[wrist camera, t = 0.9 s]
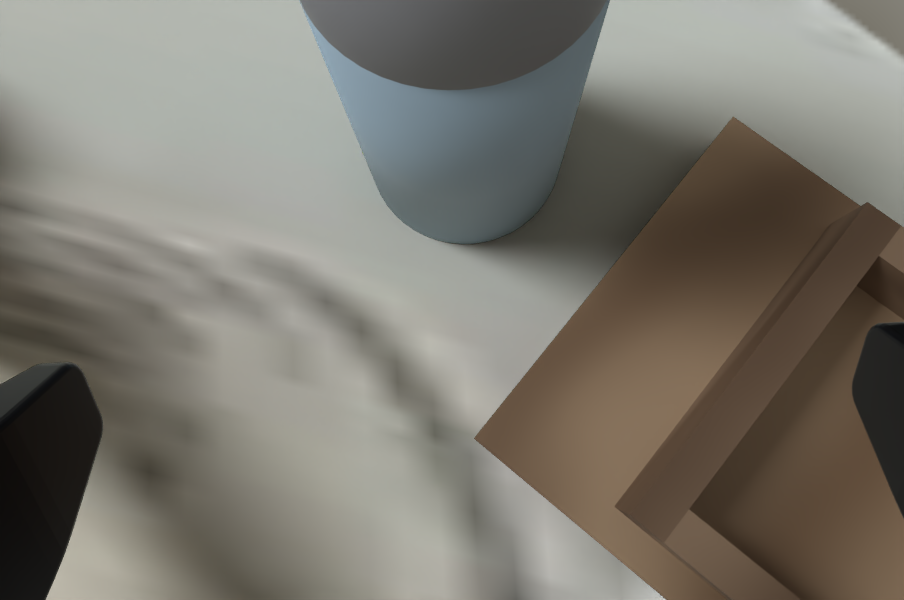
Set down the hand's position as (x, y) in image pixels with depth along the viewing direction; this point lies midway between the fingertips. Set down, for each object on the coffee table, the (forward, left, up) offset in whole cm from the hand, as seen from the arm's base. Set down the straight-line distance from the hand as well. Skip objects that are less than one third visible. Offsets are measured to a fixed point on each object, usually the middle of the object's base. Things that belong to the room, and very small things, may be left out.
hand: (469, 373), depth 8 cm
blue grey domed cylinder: (+8, 0, -13) cm, 15 cm away
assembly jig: (-3, -10, -13) cm, 17 cm away
